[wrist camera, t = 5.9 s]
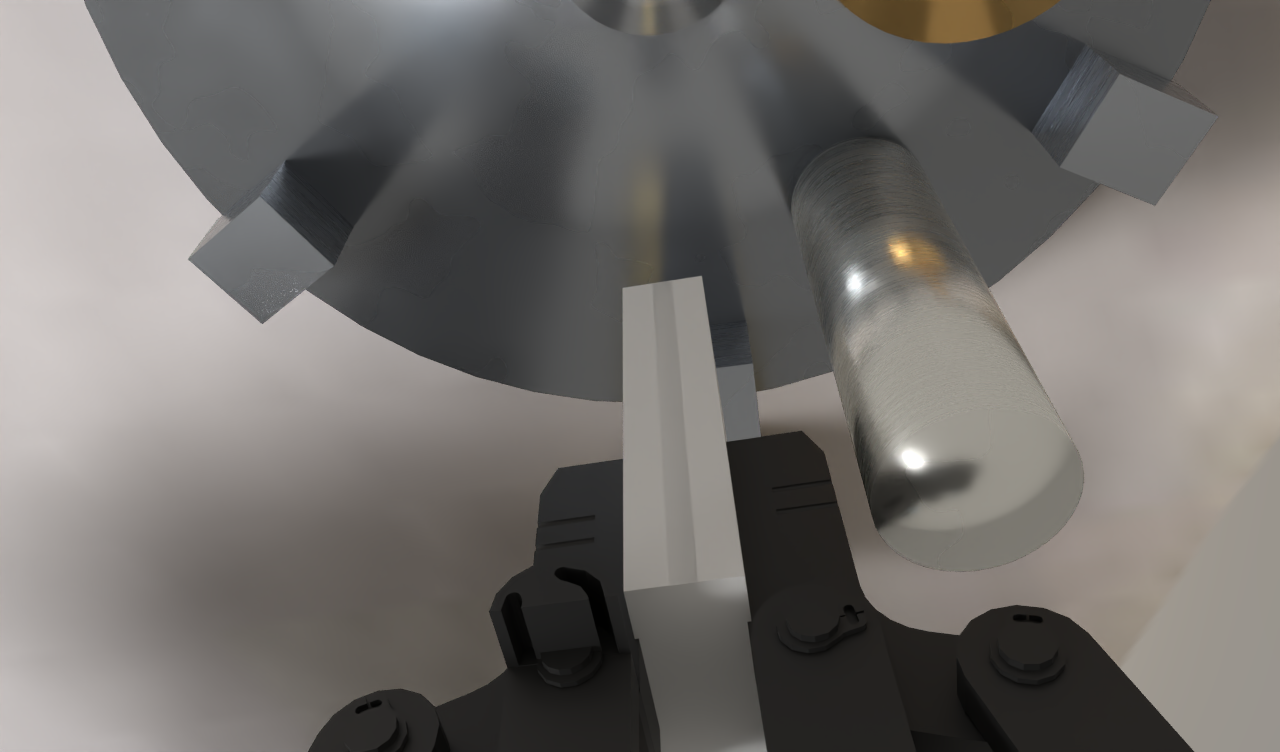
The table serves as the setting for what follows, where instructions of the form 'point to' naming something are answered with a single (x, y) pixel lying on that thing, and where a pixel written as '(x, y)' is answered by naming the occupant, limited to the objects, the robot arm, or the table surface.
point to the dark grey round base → (688, 197)
